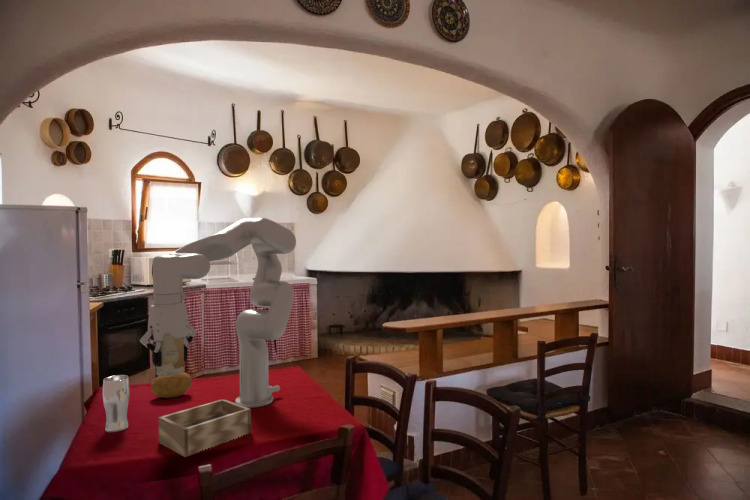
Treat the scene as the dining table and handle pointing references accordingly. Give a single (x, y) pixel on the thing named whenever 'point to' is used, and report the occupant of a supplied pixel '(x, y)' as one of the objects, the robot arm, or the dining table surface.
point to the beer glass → (116, 402)
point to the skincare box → (171, 356)
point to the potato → (171, 385)
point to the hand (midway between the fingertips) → (170, 362)
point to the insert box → (204, 426)
